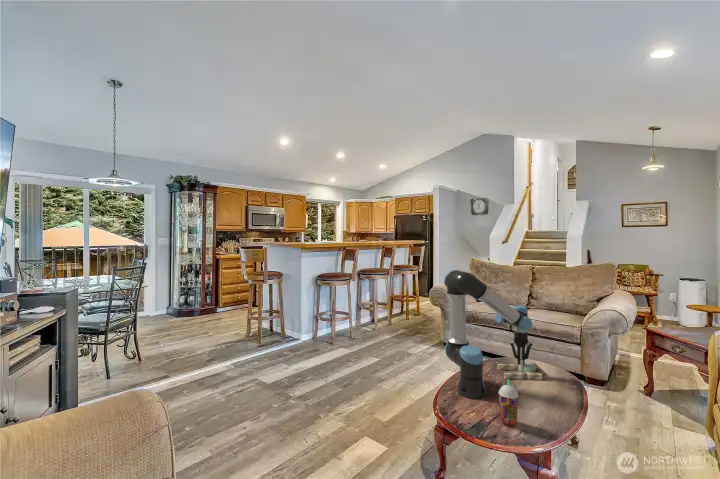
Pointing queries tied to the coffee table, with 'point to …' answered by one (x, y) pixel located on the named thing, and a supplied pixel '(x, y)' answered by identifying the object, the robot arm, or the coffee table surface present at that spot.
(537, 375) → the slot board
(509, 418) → the smoothie
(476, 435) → the coffee table surface
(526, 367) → the pale green rounded lump
